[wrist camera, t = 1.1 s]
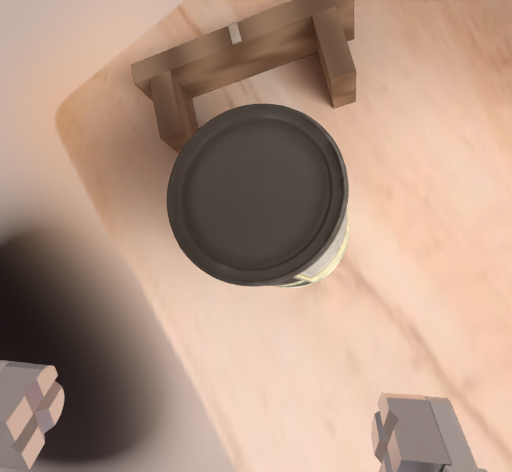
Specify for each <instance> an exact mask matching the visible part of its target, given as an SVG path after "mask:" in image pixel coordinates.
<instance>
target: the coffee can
mask: <svg viewBox="0 0 512 472" xmlns="http://www.w3.org/2000/svg"><path fill="white" fill-rule="evenodd" d="M348 191H349V189H348V177H347V171H346V166H345V163H344V160H343V157H342V155H341V152H340V150H339V148H338V146H337V145H336V143H335V141H334V140H333V138H332V137H331V136H330V135H329V133H328V132H327V131H326V130H325V129H324V128H323V127H322V126H321V125H320V124H319V123H317V122H316V121H315V120H313V119H312V118H310V117H309V116H307V115H306V114H304V113H302V112H299V111H297V110H294V109H292V108H289V107H285V106H280V105H275V104H251V105H245V106H241V107H237V108H234V109H231V110H228V111H226V112H224V113H222V114H220V115H218V116H216V117H215V118H213V119H211V120H210V121H209V122H207V123H206V124H205V125H203V126H202V127H201V128H200V129H199V130H197V131H196V133H195V134H193V135H192V136H191V138H190V139H189V140H188V141H187V143H186V144H185V145H184V147H183V148H182V150H181V152H180V154H179V156H178V158H177V160H176V162H175V164H174V167H173V169H172V173H171V176H170V180H169V184H168V190H167V210H168V217H169V221H170V225H171V228H172V231H173V233H174V236H175V238H176V240H177V242H178V244H179V246H180V248H181V249H182V250H183V252H184V253H185V254H186V256H187V257H188V258H189V259H190V260H191V261H192V262H193V263H194V264H195V265H196V266H197V267H198V268H200V269H201V270H203V271H204V272H206V273H207V274H209V275H210V276H212V277H214V278H216V279H218V280H221V281H224V282H227V283H231V284H235V285H241V286H277V287H282V288H301V287H305V286H309V285H311V284H315V283H317V282H318V281H320V280H322V279H323V278H325V277H326V276H327V275H329V274H330V273H331V272H332V271H333V270H334V269H335V268H336V266H337V265H338V264H339V262H340V261H341V259H342V257H343V255H344V253H345V251H346V248H347V244H348V239H349V222H348V217H347V203H348Z"/></svg>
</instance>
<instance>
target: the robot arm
mask: <svg viewBox="0 0 512 472" xmlns="http://www.w3.org/2000/svg"><path fill="white" fill-rule="evenodd" d="M57 375H58V374H57V372H56V370H55V367H54V366H48V365H39V364H29V363H21V362H12V361H1V360H0V468H10V469H11V468H12V469H25V470H30V468H31V466H32V464H33V463H34V461H35V459H36V457H37V455H38V454H39V452H40V450H41V449H42V447H43V445H44V443H45V439H44V433H45V432H46V431H48V430H49V429H50V428H51V427H53V426H54V425H55V424H56V422H57V420H58V418H59V416H60V415H61V411H62V408H63V404H64V392H63V389H62V387H61V386H60V385H59V384H58V383H57V382H55V381H54V380H55V379H56V377H57ZM378 405H379V410H380V411H378V412H377V413H375V414H374V418H373V422H372V443H373V449H374V455H375V456H376V457H377V459H378V460H379V461H380V462H381V463H382V464H381V467H380V470H379V472H487V471H486V470H485V469H480V468H478V467H477V464H476V462H475V459H474V457H473V455H472V452H471V450H470V447H469V445H468V443H467V440H466V438H465V435H464V433H463V430H462V428H461V426H460V423H459V421H458V418H457V416H456V413H455V411H454V409H453V406H452V404H451V402H450V401H449V400H448V399H447V398H439V397H424V396H421V395H406V394H392V393H382V394H381V395H380V397H379V400H378Z"/></svg>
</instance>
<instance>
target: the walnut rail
mask: <svg viewBox="0 0 512 472" xmlns="http://www.w3.org/2000/svg"><path fill="white" fill-rule="evenodd" d="M352 39H354V0H293V1H290V2H288V3H285V4H283V5H280V6H278V7H275V8H273V9H270V10H267V11H265V12H262V13H260V14H257V15H255V16H252V17H250V18H247V19H245V20H242V21H240V22H235V23H233V24H230V25H228V26H227V27H225V28H222V29H220V30H217V31H215V32H212V33H210V34H207V35H205V36H202V37H200V38H197V39H195V40H192V41H190V42H187V43H184V44H182V45H179V46H177V47H174V48H172V49H169V50H167V51H164V52H162V53H159V54H157V55H154V56H152V57H149V58H147V59H144V60H142V61H139V62H137V63H134V64H132V65H131V67H132V73H133V78H134V84H135V85H136V86H137V87H138V88H139V89H140V90H141V91H142V92H144V93H145V94H146V95H147V96H148V97H149V98H150V99H151V100H152V101H153V102H154V106H155V111H156V116H157V122H158V127H159V132H160V137H161V139H162V140H163V141H164V142H166V143H167V144H168V145H169V146H171V147H172V148H173V149H174V150H176V151H177V152H178V153H179V154H180V152H181V150H182V148H183V147H184V145H185V144H186V143H187V141H188V140H189V139H190V138H191V136H192V135H193V134H195V133H196V131H197V130H199V129H198V124H197V120H196V115H195V110H194V105H193V101H192V98H193V97H196V96H198V95H201V94H204V93H207V92H209V91H212V90H215V89H218V88H220V87H223V86H226V85H229V84H231V83H234V82H237V81H240V80H242V79H245V78H248V77H250V76H253V75H256V74H259V73H261V72H264V71H267V70H270V69H272V68H275V67H278V66H281V65H283V64H286V63H289V62H292V61H294V60H297V59H300V58H303V57H305V56H308V55H311V54H313V53H316V52H317V53H318V56H319V60H320V63H321V66H322V70H323V73H324V77H325V80H326V83H327V87H328V90H329V94H330V97H331V100H332V104H333V107H334V108H337V107H340V106H343V105H346V104H349V103H352V102H355V101H356V69H355V66H354V63H353V60H352V57H351V53H350V50H349V47H348V44H347V41H349V40H352Z"/></svg>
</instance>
